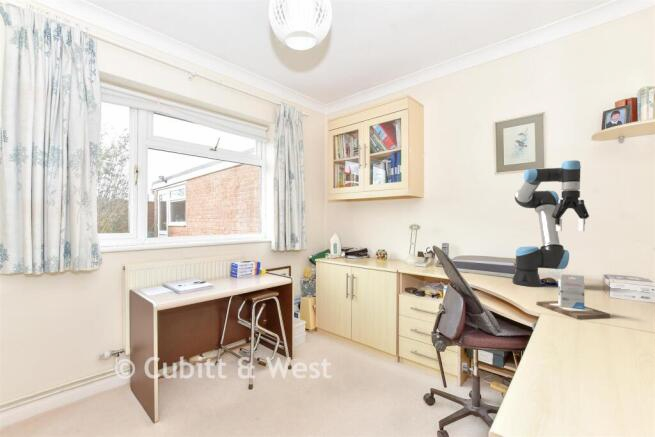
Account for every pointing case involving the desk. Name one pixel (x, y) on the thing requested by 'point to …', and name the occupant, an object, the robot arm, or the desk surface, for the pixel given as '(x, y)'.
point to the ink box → (571, 291)
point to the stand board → (573, 310)
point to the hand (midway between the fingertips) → (570, 231)
